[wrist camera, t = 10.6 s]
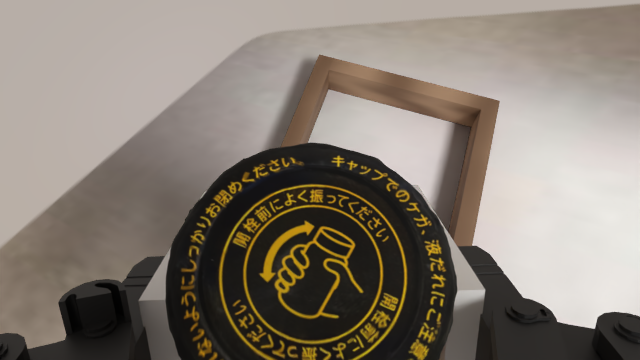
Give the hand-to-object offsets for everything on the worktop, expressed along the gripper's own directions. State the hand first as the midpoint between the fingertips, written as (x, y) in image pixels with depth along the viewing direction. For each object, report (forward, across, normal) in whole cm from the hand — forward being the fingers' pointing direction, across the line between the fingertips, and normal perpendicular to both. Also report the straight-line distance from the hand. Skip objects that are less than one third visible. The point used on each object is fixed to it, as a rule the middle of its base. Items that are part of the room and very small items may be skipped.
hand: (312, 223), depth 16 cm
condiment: (+1, -1, -6) cm, 6 cm away
